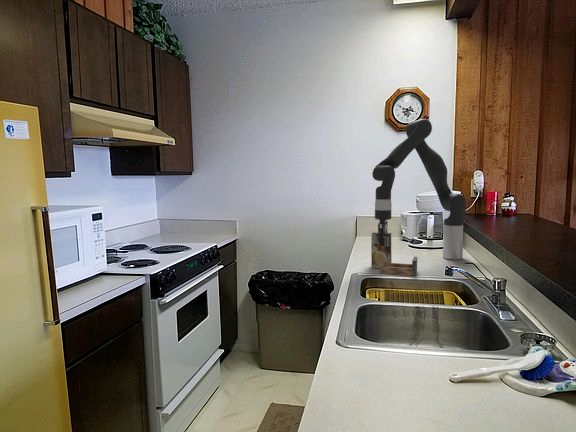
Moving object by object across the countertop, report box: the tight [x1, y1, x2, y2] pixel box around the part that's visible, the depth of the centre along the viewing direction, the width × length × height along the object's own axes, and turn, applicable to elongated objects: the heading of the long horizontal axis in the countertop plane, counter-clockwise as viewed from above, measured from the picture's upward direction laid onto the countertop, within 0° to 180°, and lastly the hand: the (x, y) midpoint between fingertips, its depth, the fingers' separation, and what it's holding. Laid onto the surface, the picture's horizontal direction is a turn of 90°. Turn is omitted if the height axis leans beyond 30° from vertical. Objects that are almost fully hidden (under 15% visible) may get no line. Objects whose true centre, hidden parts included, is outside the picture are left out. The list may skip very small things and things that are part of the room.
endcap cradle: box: [380, 256, 418, 277], centre depth 178 cm, size 14×9×7 cm, turn 69°
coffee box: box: [370, 231, 393, 269], centre depth 188 cm, size 9×6×16 cm
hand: (382, 244), depth 188 cm, fingers closed on coffee box, 6 cm apart
